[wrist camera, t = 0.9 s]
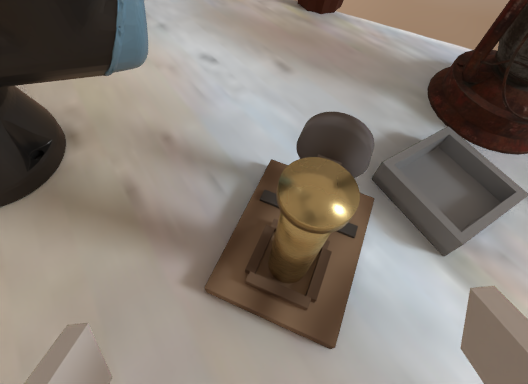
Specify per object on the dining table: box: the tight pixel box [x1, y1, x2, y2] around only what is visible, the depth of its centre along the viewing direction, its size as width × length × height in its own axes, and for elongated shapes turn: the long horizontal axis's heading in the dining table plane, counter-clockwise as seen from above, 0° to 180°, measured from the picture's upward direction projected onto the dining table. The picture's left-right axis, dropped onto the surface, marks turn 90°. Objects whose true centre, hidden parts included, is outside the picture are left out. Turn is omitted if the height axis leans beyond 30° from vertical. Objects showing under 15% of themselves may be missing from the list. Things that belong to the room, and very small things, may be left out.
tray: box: [372, 126, 528, 256], centre depth 38 cm, size 12×12×4 cm
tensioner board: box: [204, 112, 374, 349], centre depth 29 cm, size 13×17×12 cm
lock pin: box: [268, 157, 360, 284], centre depth 26 cm, size 5×5×14 cm
